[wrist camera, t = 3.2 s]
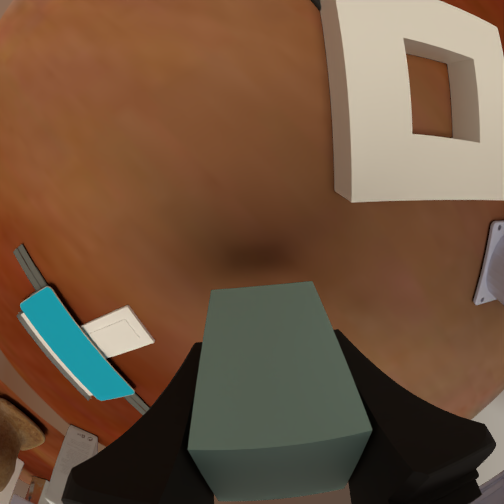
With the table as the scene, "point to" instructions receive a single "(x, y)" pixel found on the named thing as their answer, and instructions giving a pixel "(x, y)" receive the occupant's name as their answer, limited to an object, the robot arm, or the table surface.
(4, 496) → the gable box
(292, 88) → the table surface
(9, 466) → the stone cup
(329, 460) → the peg
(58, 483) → the skincare box
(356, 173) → the socket block
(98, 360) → the teal sliding drawer box
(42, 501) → the small box
